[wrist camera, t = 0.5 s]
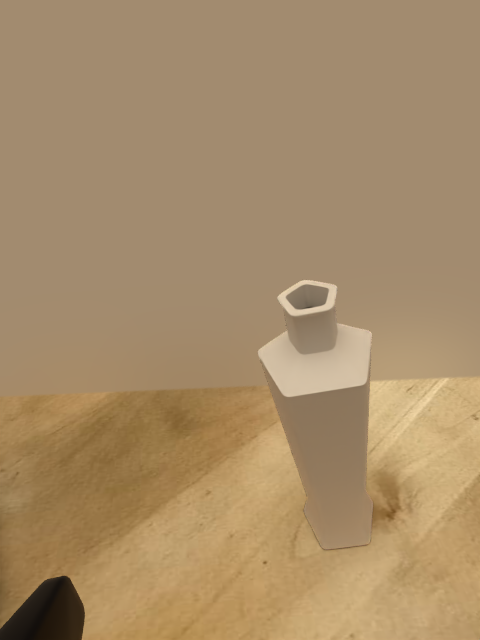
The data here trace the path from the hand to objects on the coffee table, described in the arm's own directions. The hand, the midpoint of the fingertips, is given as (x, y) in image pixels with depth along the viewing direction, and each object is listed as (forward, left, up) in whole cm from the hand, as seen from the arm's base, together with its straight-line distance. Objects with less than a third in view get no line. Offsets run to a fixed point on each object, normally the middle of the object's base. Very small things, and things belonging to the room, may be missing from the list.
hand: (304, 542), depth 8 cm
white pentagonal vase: (+9, -2, -16) cm, 18 cm away
